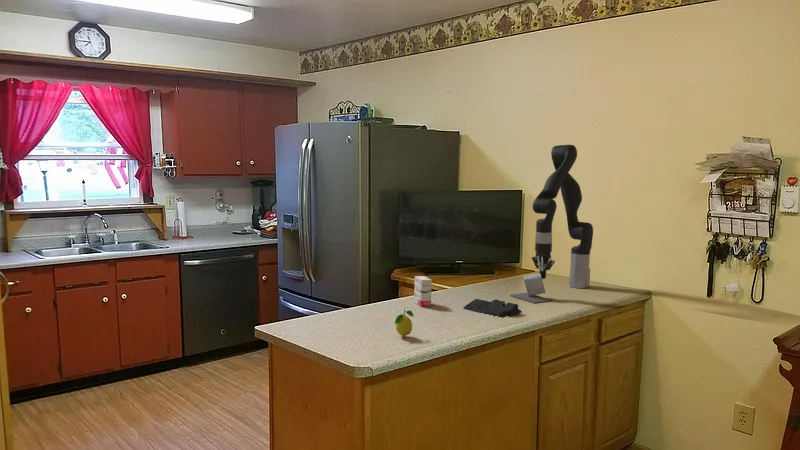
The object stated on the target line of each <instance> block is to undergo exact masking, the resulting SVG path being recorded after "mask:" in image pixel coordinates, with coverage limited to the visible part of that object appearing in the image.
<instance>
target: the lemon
mask: <svg viewBox="0 0 800 450" xmlns="http://www.w3.org/2000/svg"><path fill="white" fill-rule="evenodd" d="M403 311H404V313H401V314H398V315H397V316H396V318H395V321H394V324H395V325H396V332H397V333H398V334H399V335H400V336H402V338H404V337H406V336H408V335H410V334H411V333H412V330H413V324H412V320H411V319H410V317H414V313H413V312H412V310H407V311H406V309H403ZM406 314H407V315H408V316H407V315H406Z"/></svg>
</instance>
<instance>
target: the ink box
mask: <svg viewBox="0 0 800 450" xmlns="http://www.w3.org/2000/svg"><path fill="white" fill-rule="evenodd" d="M432 281H433V279H431V278H429V277H428V276H425V275H414V294H413V296H414V298H413V303H414V304H416V305H417V306H419V307H420V308H424V307H426V308H427V307H432V284H433V282H432Z"/></svg>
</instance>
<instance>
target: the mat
mask: <svg viewBox="0 0 800 450" xmlns="http://www.w3.org/2000/svg"><path fill="white" fill-rule="evenodd" d="M509 297H513V298H515V299H518V300H521V301H524V302H527V303H531V304H540V303H547V302H548V303H549V302H552V301H553V299H551V298H550V299H549V298H546V297H544V296H541V295H538V294H537V295H533V296H528V293H527V292H522V293H514V294H513V293H512V294H509Z"/></svg>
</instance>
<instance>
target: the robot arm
mask: <svg viewBox="0 0 800 450" xmlns="http://www.w3.org/2000/svg"><path fill="white" fill-rule="evenodd" d="M550 152H551V153H550V155H551V161H552V164H553V167H554V170H555V171H554V172H552V173H551V174H550V175H549V176H548V178H547V179H546V180H545V183H544V186H543V188H542V190H541V191H540V192H539V194H538V195H536V197H535V199H534V200H533V203H532V211H533V212H534V213H535V214H542V215H545V217H544V218H538V219H537V220H536V223H535V229H536V230H535V236H534V237H535V239H534V240H535V241H534V242H535V244H534V251H535V255H534V256H532V257H531V260H532V262H533V264H534V266H535V268H536V269H538V271H539V273H541V277H542V280H545V279H546V278H547V271H549V270H551V268H552V267H553V266H554V264H555V263H556V261H555V260H553V259H552V255H551V253H552V251H553V250H552V249H553V234H552V233H553V231H552V230H553V221H554V216H555V214H556V211H557V206H558V205H557V202H556V200H555V199H556V198H557V196H558V194H559V192H560V191H561V196H562V201H563V205H564V210H565V215H566V221H567V223H566V224H567V229H568V234H569V237H570V238H571V239H573V240H576V241H580V242H579V244H578V245H575V246H572V247H571V250H570V267H569V283H568V285H569V287H570V288H576V289H587V288H589V287H590V284H591V283H590V282H591V281H590V280H591V268H590V259H591V250H592V247H593V245H592V244H593V238H594V226H593V224H592V223H590V222H583V221H579V218H578V210H579V208H580V206H581V203H582V201H583V195H582V190H581V187H580V184H579V182H578V181H577V180H576V179H575V178H574V177H573V176H572V175H571V174H570V173H569V172H570V171H571V169H572V168H573V166H574V164H575V162H576V160H577V157H578V150H577V147H576V146H575V145H573V144H560V145H554V146H552V148H551V151H550Z"/></svg>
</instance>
